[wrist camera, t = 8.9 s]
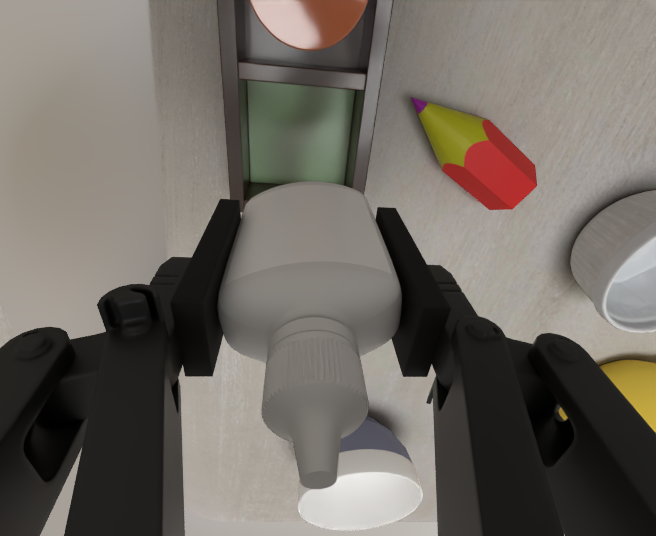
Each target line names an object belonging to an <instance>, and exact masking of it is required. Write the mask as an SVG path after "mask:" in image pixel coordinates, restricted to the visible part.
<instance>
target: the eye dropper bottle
mask: <svg viewBox="0 0 656 536" xmlns="http://www.w3.org/2000/svg"><path fill="white" fill-rule="evenodd" d="M401 307H402V291H401V286H400V283H399V280H398V277H397V274H396V271H395V269H394V266H393V263H392V260H391V258H390V255H389V253H388V250H387V248H386V245H385V243H384V240H383V238H382V235H381V233H380V230H379V228H378V225H377V223H376V220H375V218H374V216H373V213H372V211H371V208H370V206H369V203H368V201H367V199H366V197H365V196H364V195H363V194H362V193H361V192H359V191H357V190H355V189H352V188H349V187H346V186H343V185H339V184H334V183H328V182H319V181H305V182H295V183H289V184H285V185H281V186H277V187H274V188H271V189H269V190H266V191H264V192H262V193H260V194H258V195H256V196H254V197H253V198H251V199H250V200H249V201H248V203H247V204H246V206H245V209H244V212H243V215H242V218H241V221H240V224H239V227H238V230H237V233H236V237H235V240H234V243H233V246H232V249H231V253H230V256H229V259H228V262H227V265H226V269H225V272H224V276H223V279H222V283H221V287H220V290H219V296H218V304H217V309H218V315H219V320H220V324H221V327H222V331H223V334H224V336H225V339H226V341H227V343H228V344H229V345H230V346H231V347H232V348H233V349H234V350H236V351H237V352H239V353H241V354H243V355H245V356H247V357H250V358H253V359H256V360H259V361H262V362H265V363H266V372H265V381H264V391H263V401H262V418H263V419H264V420H263V421H264V422H265V424H266V425H267V427H268V428H269V429H270V430H271V431H272V432H273V433H275V434H276V435H277V436H279V437H281V438H283V439H285V440H288V441H291V442H293V444H294V449H295V455H296V460H297V466H298V471H299V477H300V482H301V484H302V486H304V487H306V488H309V489H325V488H328V487H330V486H332V485H334V484H335V483H336V481H337V471H338V460H339V450H340V441H341V438H344V437H346V436H348V435H349V434H351V433H353V432H354V431H355V430H356V429H357V428H359V426H360V425H361V424H362V423H363V422H364V420H365V418H366V416H367V414H368V411H369V409H368V408H369V402H368V397H367V392H366V386H365V381H364V376H363V370H362V365H361V360H360V356H362V355H365V354H367V353H369V352H371V351H373V350H375V349H376V348H378V347H380V346H382V345H383V344H385V343H386V342H387V341H389V340H390V339H391V338H392V337H393V336H394V335H395V333H396V331H397V330H398V327H399V323H400V317H401Z"/></svg>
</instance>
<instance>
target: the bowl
mask: <svg viewBox="0 0 656 536" xmlns="http://www.w3.org/2000/svg"><path fill="white" fill-rule="evenodd" d="M422 493H423V491H422V488H421V485H420V482H419V479H418V476H417V473H416V470H415V467H414V465H413V463H412V461H411V459H410V457H409V455H408V453H407V450H406V448H405V447H404V446H403V445H402V443H401V442H400V441H399V440H398V439H397V438H396V437H395V435H394V434H393V433H392V432H391V431H390V430H389V429H387V428H386V427H384V426H382V425H380V424H379V422H378V421H376V420H375V419H373V418H371V417H368V416H366V418H365V420H364V422H363V423H362V424H361V425H360V426H359V428H357V429H356V430H355V431H354V432H353V433H351V434H349V435H348V436H346V437H344V438H341V441H340V450H339V460H338V471H337V481H336V483H335V484H334V485H332V486H330V487H328V488H325V489H309V488H306V487H304V486H302V484H301V482H300V480H299V490H298V511H299V513H300V515H301V516H302V518H303V519H304V520H306V521H307V522H309V523H310V524H313V525H315V526H318V527H322V528H326V529H332V530H344V531H350V530H364V529H371V528H375V527H380V526H383V525H387V524H390V523H392V522H395V521H398V520H400V519H402V518H404V517H405V516H407V515H409V514H410V513H411V512H413V511H414V510H415V509H416V508H417V507H418V506H419V504H420V502H421V500H422Z"/></svg>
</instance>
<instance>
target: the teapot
mask: <svg viewBox="0 0 656 536" xmlns="http://www.w3.org/2000/svg"><path fill="white" fill-rule="evenodd" d="M599 367H600V368H601V369H602V370H603V372H604V373H605V374H606V375H607V376H608V378H609V379H610V380H611V381H612V382H613V383H614V385H615V386H616V387H617V388H618V389H619V390H620V392H621V393H622V394H623V395H624V396H625V398H626V399H627V400H628V401H629V402H630V403H631V405H632V406H633V407H634V408H635V409H636V410H637V412H638V413H639V414H640V415H641V416H642V418H643V419H644V420H645V421H646V422H647V423H648V425H649V426H650V427H651V428H652V429H653V430H654V432H655V433H656V363H651V362H646V361H639V360H620V361H614V362H610V363H607V364H604V365H601V366H599ZM559 414H560V416H561V417H562V418H563V419H564V420H566V419H567V418H568V417H567V416H566V414H565V413H564V411H563V410H562V408H561V407H560V408H559Z"/></svg>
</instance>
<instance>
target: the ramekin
mask: <svg viewBox="0 0 656 536" xmlns="http://www.w3.org/2000/svg"><path fill="white" fill-rule="evenodd" d="M570 260H571V262H570V266H571V271H572V274H573V277H574V278H575V280H576V281H577V283H578V284H579V286H580V287H581V288H582V290H583V291H584V292H585V294H586V295H587V296H588V297H589V298H590V299H591V301H592V302H593V303H594V306H595V308H596V310H597V312H598V313H599V314H600V315H601V316H602V317H603V318H604V319H605V320H606V321H607V322H608V323H610V324H611V325H612V326H614V327H616V328H617V329H620V330H623V331H627V332H634V333H647V332H656V190H653V191H646V192H643V193H638V194H635V195H632V196H629V197H626V198H623V199H621V200H619V201H617V202H615V203H613V204H611V205H610V206H608V207H607V208H605V209H604V210H602V211H601V212H600V213H598V214H597V215H596V216H595V217H594V218H593V219H592V220H590V222H589V223H588V224H587V225H586V226H585V227H584V228H583V230H582V231H581V232H580V234H579V235H578V237H577V239H576V241H575V243H574V246H573V249H572V254H571V258H570Z"/></svg>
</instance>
